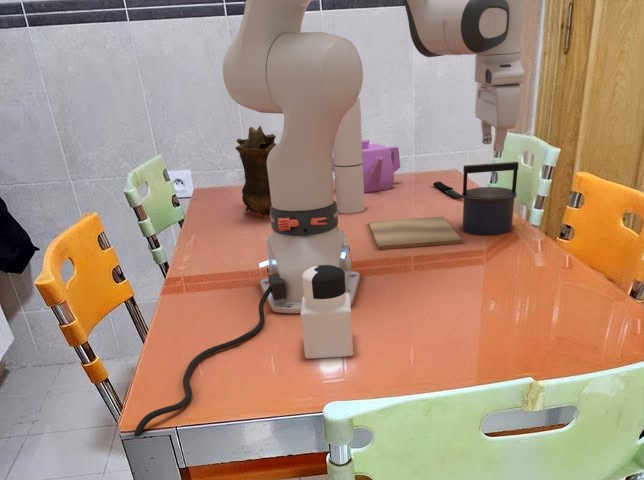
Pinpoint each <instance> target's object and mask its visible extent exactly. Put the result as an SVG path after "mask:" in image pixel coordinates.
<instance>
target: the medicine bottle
mask: <svg viewBox="0 0 644 480" xmlns="http://www.w3.org/2000/svg"><path fill="white" fill-rule="evenodd" d="M302 280H303V289H304V296H303V297H302V306H301V313H300V323H301V331H302V332H301V333H302V341H303V342H302V343H303V351H304V357H305V359H307V360H309V359H310V360H311V359H323V358H324V359H326V358H327V359H328V358H329V359H330V358H344V357H345V358H346V357H353V356H354V343H353V341H354V339H353V323H352V309H351V307H352V305H350V295H349V294H348V293H346V287H345V272H344V271H343V270H342V269H341V268H339V267H336V266H332V265H319V266H314V267H312V268H310V269H308V270H306V271H305V272H304V273H303V275H302Z"/></svg>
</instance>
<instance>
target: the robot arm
mask: <svg viewBox="0 0 644 480" xmlns="http://www.w3.org/2000/svg"><path fill="white" fill-rule="evenodd" d="M312 1H313V0H245V6H244V10H243V11H244V12H243V16H242V19H241V23H240V26H239V29H238V32H237V34H236V36H235V39H233V41H232V43H231V44H230V45H229V47H228V48H227V50H226V52H225V54H224V58H223V63H222V78H223V82H224V85H225V88H226V91H227V93H228V94H229V96H230V97H231V99H232V100H233V101H234V102H235V103H236V104H238V105H240V106H242V107H244V108H247V109H249V110H252V111H255V112H258V113H260V114H261V113H262V114H279V115H280V114H281V115H282V114H283V127H282V133H281V136H280V140H279V142H278V143H276V146H275V147H274V148H273V149H272V150H271V151H270V152H269V154H268V157H267V171H268V179H269V187H270V196H271V204H272V205H271V206H270V216H269V220H270V226H271V229H272V232H271V233H270V234H269V236H267V238H266V239H265V245H266V255H267V260H265V261H262V262H260V263H259V264H258V265H259V268H262V267H266V272H267V273H268V275H267V277H265V278H263V279H261V280H260V281H259V282H260V283H259V287H260V290H261V291H262V293H263V294H262V296H261V297H260V300H259V302H258V314H259V315H258V316H259V320H258V322H257V325H256V326H255V327H254V328H253V329H251V330H249V331H247V332H246V333H244V334H242V335H240V336H238V337H237V338H234V339H231V340H229V341H226V342H223V343H220V344H218V345H215V346H212V347H210V348H207V349H205V350H203V351H201V352H200V353H198V354H197V355H196V356H195V357H194V358H192V360H191V361H190V362H189V364H188V366H187V368H186V370H185V372H184V374H183V377H182V382H183V386H184V390H185V395H184V397H183V398H182V400H181V401H178V402H177V403H175V404H172V405H167V406H165V407H161V408H158V409H155V410H153V411H151V412H149V413H148V414H146V415H145V416H144V417H143V418H142V419H140V421H139V422H138V424H137V426H136V427H135V430H134V433H133V437H135V438H137V437H140V436H141V435H143V432H144V429H145V428H146V426H147V425H148V424H149V423H150V422H151V421H152V420H153V419H155V418H157V417H160V416H161V415H162V416H163V415H165V414H170V413H172V412H175V411H179V410H181V409H183V408H185V407H186V406H187V405H189V403H190V401H191V399H192V396H193V389H192V386H191V384H190V377H191V375H192V372H193V370H194V369H195V367H196V366H197V365H198V363H199V362H200V361H202V360H203V359H204V358H206V357H207V356H209V355H212V354H214V353H217V352H218V351H219V352H220V351H223V350H224V349H228V348H230V347H234V346H236V345H238V344H240V343H242V342H244V341H246V340H248V339H250V338H251V337H254V336H255V335H256V334H258V333H259V332H260V331H261V330H262V327H263V326H264V324H265V319H266V317H265V310H264V309H265V308H264V307H265V303H266V301H267V303H268V305H269V307H270V309H271V311H272V312H274V313H280V314H281V313H282V314H301V306H302V297H303V296H304V289H303V280H302V275H303V273H304V272H305V271H306V270H308V269H310V268H312V267H314V266H319V265H332V266H336V267H339V268H341V269H342V270H343V271H344V272H345V287H346V293H348V294H349V295H350V305H351V306H352V305H353V304H354V301H355V297H356V294H357V290H358V288H359V285H360V281H361V276H360V275H361V274H360V273H359V272H357V271H353V259H352V257H349V254H350V252H351V249H350V245H349V244H348V236H347V233H346V232H345V231H344V230H342V229H341V228H340V227H339V212H338V209H337V203H336V199H335V195H334V194H335V193H334V192H335V191H334V171H333V166H332V157H334V156H333V147H334V142H335V137H336V134H337V131H338V128H339V125H340V123H341V121H342V119H343V117H344V116H345V114H346V113H347V111H348V110H349V109H350V108H351V107H352V106H353V105H354V104H355V102H356V101H357V99H358V97H360V95H361V91H362V87H363V83H364V82H363V81H364V69H363V62H362V59H361V55H360V54H359V52H358V49H357V47H356V46H355V45H354V44H353V42H352V41H351V40H350V39H348V38H345V37H342V36H338V35H336V34H332V33H328V32H323V31H303V32H302V23H303V20H304V16H305V14H306V11H307V10H308V9H307V8H308V6H309V5H310V3H311V2H312ZM402 1H403V4H404V8H405V12H406V16H407V21H408V28H409V33H410V37H411V40H412V43H413V45H414V48H415V49H416V51H417V52H418V53H419V54H420V55H422V56H423V57H426V58H436V57H437V58H438V57H442V56H464V55H465V56H467V55H468V56H470V55H471V56H474V55H475V58H474V59H475V61H474V65H475V66H474V81H473V82H475V83H476V91H475V92H476V94H475V103H474V104H475V106H474V115H475V117H476V118H477V119H479V120H480V127H481V134H482V139H481V142H482V144H483V145H491V144H492V143H493V148H492V149H493V151H494V152H496V153H502V152H504V150H505V141H506V138H507V135H508V130H513V129H514V128H515V127H516V125H517V122H518V117H519V111H520V110H519V109H520V103H521V96H522V95H521V93H522V88H521V85H523V84H524V83H525V78H526V77H525V76H526V73H525V69H524V67H523V66H522V60H521V57H522V45H521V34H522V31H523V27H524V23H525V22H524V20H525V3H526V1H525V0H402ZM493 127H494V128H495V129H494V134H495V136H494V137H495V138H494V141H493V134H492V128H493Z"/></svg>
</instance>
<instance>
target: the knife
mask: <svg viewBox="0 0 644 480" xmlns="http://www.w3.org/2000/svg"><path fill="white" fill-rule="evenodd" d="M432 186H433V187H436V188H437V189H439V190H440V191H441V192H442V193H444V194H448V195H450V196H451V197H454V198H457V199H463V198H462V193H459V192H458V191H456V190H454V188H453V187H451V186H448V185H446V184H445V183H443V182H442V181H435V182H433V184H432Z"/></svg>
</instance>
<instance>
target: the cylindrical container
mask: <svg viewBox="0 0 644 480" xmlns="http://www.w3.org/2000/svg"><path fill="white" fill-rule="evenodd" d="M361 111H362V110H361V96H359V97H358V99H357V101H356V102H355V104H354V105H353V106H352V107H351V108H350V109H349V110H348V111H347V113H346V114H345V116H344V117H343V119H342V121H341V123H340V125H339V128H338V131H337V134H336V137H335V142H334V147H333V158H334V171H333V174H334V188H335V201H336V203H337V209H338V213H341V214H356V213H361V212H364V211H365V210H366V209H365V193H364V182H363V159H362V140H363V136H362V115H361Z"/></svg>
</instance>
